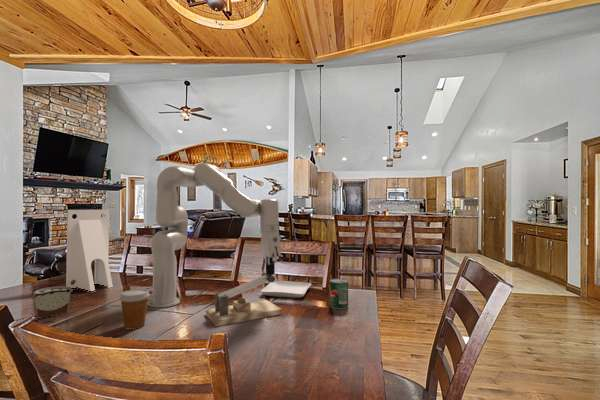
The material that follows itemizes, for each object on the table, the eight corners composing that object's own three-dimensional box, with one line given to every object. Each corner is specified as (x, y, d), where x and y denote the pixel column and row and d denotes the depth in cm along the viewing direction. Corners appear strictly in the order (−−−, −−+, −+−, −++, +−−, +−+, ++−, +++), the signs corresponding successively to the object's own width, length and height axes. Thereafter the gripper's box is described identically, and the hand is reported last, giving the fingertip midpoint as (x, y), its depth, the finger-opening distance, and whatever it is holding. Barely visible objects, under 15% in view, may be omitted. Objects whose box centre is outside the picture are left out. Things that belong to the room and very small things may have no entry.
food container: (69, 308, 133) (69, 284, 133) (72, 312, 128) (72, 287, 129) (30, 315, 124) (30, 289, 124) (32, 320, 120) (32, 292, 120)
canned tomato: (325, 306, 138) (326, 280, 139) (336, 302, 144) (337, 277, 144) (341, 310, 133) (341, 283, 133) (351, 306, 139) (352, 280, 139)
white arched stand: (80, 294, 154) (81, 210, 155) (65, 290, 162) (67, 209, 162) (121, 285, 171) (123, 209, 172) (107, 282, 179) (108, 209, 179)
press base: (216, 326, 115) (216, 300, 115) (206, 314, 127) (206, 291, 127) (281, 314, 128) (281, 291, 128) (266, 304, 140) (266, 283, 140)
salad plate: (304, 300, 147) (304, 293, 147) (259, 297, 152) (259, 290, 152) (311, 289, 168) (312, 282, 168) (272, 286, 172) (272, 280, 172)
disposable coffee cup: (128, 321, 119) (129, 288, 119) (154, 321, 119) (154, 288, 119) (113, 331, 110) (113, 295, 110) (140, 332, 109) (141, 296, 109)
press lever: (223, 303, 119) (221, 297, 119) (217, 298, 126) (215, 292, 126) (277, 280, 131) (276, 274, 130) (268, 276, 137) (267, 271, 137)
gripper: (286, 229, 129) (287, 276, 128) (270, 227, 142) (270, 270, 141) (269, 230, 125) (269, 278, 125) (254, 228, 138) (254, 272, 137)
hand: (270, 273), depth 133 cm, fingers closed
